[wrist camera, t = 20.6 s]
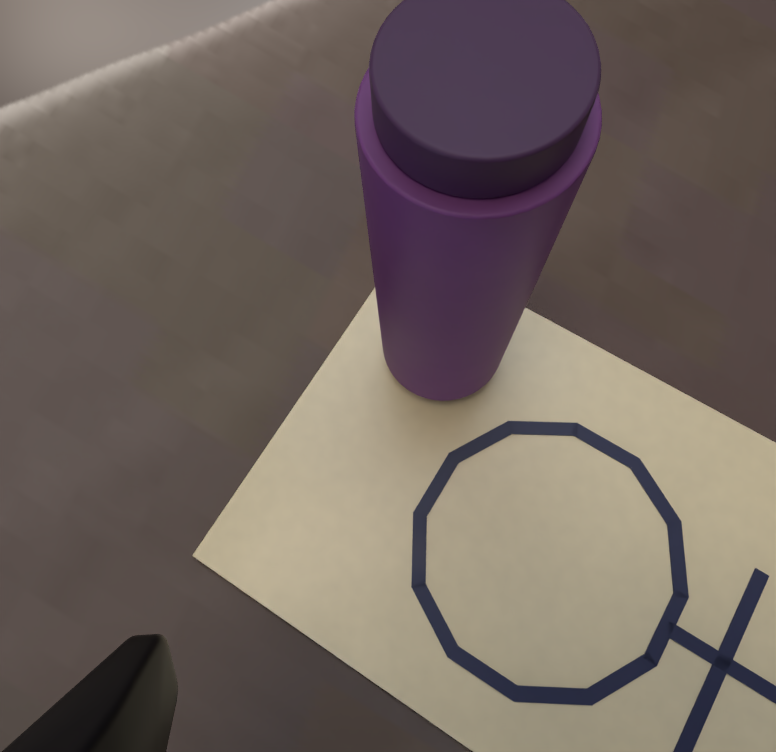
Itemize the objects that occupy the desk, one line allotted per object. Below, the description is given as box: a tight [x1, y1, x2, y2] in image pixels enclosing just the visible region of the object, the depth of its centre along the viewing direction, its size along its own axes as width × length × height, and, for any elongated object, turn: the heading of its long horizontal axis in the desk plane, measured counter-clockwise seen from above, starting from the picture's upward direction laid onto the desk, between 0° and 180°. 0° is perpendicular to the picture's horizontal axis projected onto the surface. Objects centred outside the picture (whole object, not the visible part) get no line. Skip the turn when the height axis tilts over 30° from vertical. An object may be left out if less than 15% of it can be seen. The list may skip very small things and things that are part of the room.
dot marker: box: [355, 0, 602, 401], centre depth 15 cm, size 4×4×13 cm
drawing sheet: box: [192, 288, 776, 752], centre depth 19 cm, size 23×13×1 cm, turn 58°
